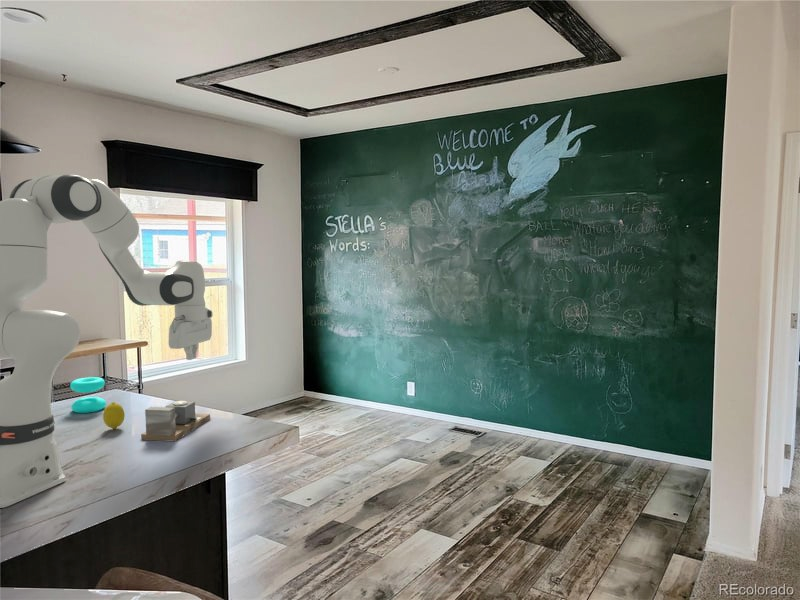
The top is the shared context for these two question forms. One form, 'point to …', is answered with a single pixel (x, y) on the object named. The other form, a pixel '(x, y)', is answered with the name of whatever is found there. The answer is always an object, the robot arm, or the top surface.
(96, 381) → the donuts
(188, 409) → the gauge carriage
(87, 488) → the top surface
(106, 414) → the lemon
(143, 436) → the bench
